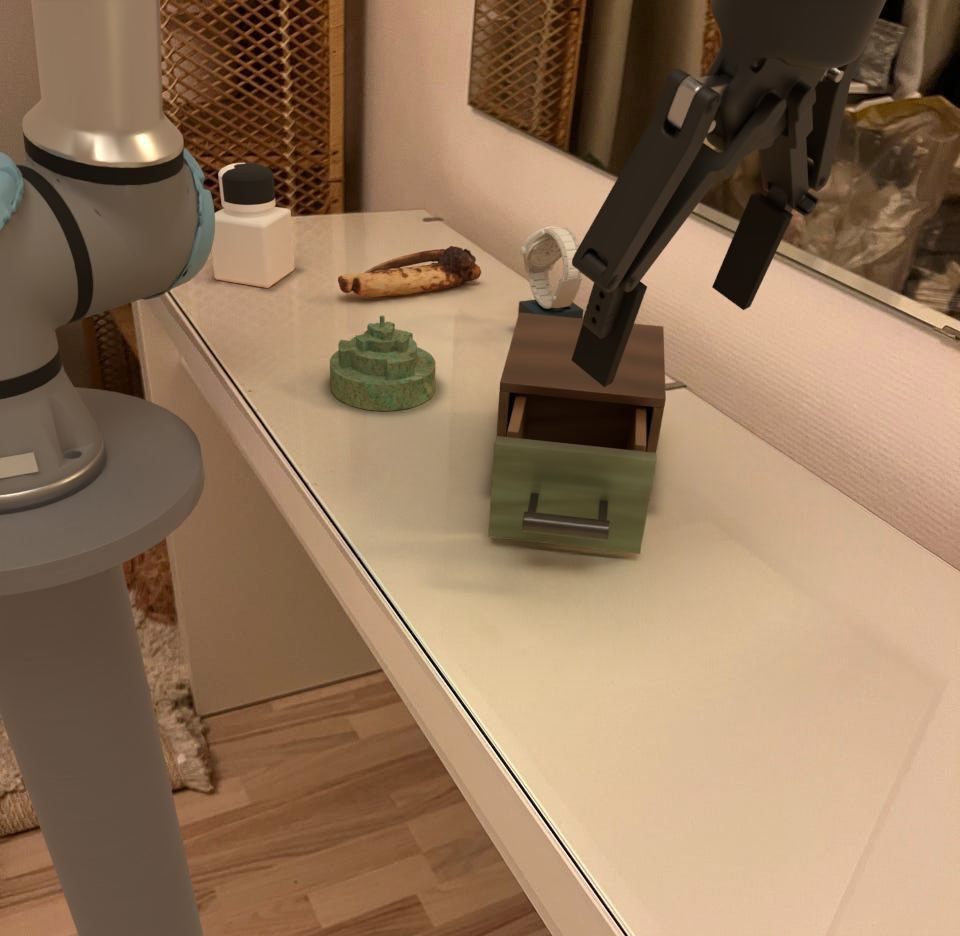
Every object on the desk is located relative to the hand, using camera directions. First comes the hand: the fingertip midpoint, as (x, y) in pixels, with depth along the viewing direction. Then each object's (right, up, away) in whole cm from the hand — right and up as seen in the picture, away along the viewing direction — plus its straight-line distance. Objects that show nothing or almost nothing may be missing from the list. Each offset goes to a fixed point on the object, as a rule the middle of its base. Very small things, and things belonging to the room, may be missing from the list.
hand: (665, 332), depth 61 cm
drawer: (-4, -9, +17) cm, 20 cm away
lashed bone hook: (-20, +22, +56) cm, 64 cm away
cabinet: (-3, -3, +26) cm, 26 cm away
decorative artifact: (-21, +5, +35) cm, 41 cm away
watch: (-4, +14, +47) cm, 50 cm away
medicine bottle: (-38, +24, +57) cm, 73 cm away
